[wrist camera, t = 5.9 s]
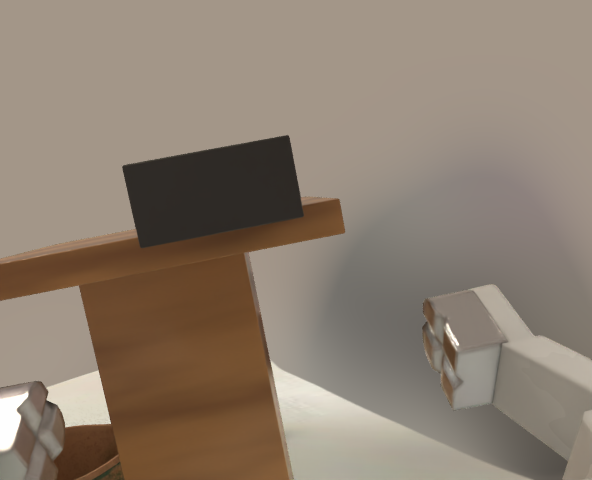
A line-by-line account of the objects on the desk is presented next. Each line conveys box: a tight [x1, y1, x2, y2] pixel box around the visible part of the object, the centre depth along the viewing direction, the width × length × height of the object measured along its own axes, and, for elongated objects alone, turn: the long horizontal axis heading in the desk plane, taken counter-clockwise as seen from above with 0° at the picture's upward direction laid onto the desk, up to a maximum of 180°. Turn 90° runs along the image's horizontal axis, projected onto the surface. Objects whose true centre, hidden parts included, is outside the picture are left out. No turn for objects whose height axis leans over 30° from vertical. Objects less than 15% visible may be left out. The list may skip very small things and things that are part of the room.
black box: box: [122, 135, 304, 248], centre depth 24 cm, size 20×4×2 cm, turn 5°
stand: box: [0, 197, 345, 480], centre depth 30 cm, size 14×17×26 cm
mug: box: [53, 424, 124, 480], centre depth 44 cm, size 12×18×12 cm, turn 86°
